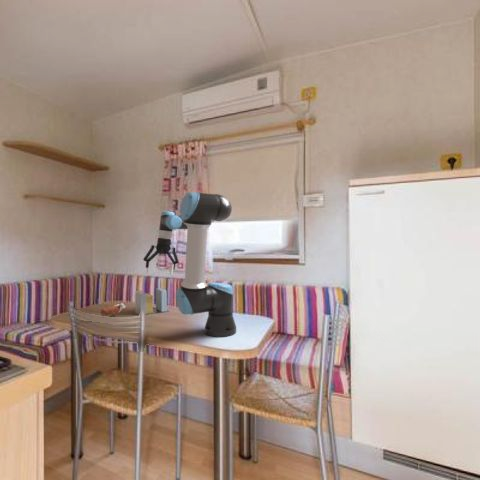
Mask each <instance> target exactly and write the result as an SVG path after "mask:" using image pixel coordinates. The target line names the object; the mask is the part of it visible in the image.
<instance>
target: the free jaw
mask: <svg viewBox="0 0 480 480" xmlns="http://www.w3.org/2000/svg"><path fill="white" fill-rule="evenodd" d="M167 295H168V294H167V290H166V289H164V288H162V287H159V288H157V287H156V288H155V309H158V310H159V311H161V312H164V313H166V312H165V311H167V307H168V305H167V302H168V301H167V300H168V297H167Z"/></svg>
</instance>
